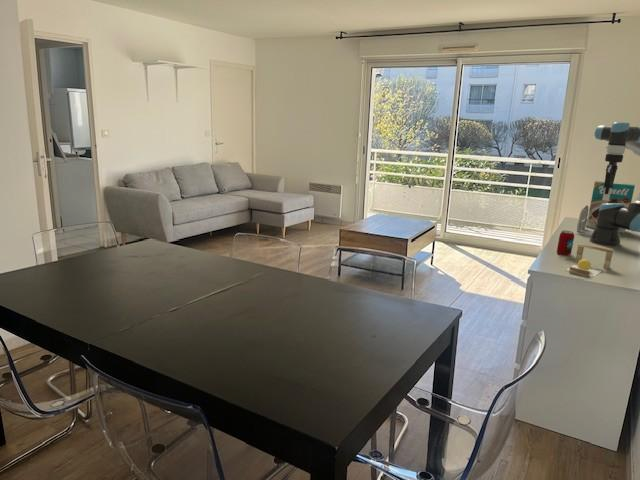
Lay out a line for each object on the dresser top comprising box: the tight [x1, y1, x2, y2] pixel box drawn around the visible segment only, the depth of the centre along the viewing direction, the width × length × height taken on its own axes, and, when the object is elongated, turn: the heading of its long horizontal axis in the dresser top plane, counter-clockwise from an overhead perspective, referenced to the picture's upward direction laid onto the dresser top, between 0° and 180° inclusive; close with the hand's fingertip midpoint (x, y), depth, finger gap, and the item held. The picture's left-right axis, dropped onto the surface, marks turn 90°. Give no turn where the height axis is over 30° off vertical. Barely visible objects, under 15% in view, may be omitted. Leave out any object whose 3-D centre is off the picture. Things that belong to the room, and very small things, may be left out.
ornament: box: [574, 204, 595, 237], centre depth 299 cm, size 22×13×17 cm, turn 137°
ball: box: [576, 258, 592, 270], centre depth 224 cm, size 6×6×6 cm
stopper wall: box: [568, 266, 590, 278], centre depth 218 cm, size 2×8×2 cm, turn 48°
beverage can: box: [556, 230, 575, 257], centre depth 249 cm, size 7×7×12 cm
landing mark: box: [565, 264, 602, 278], centre depth 224 cm, size 12×12×1 cm
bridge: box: [574, 242, 614, 270], centre depth 233 cm, size 3×14×9 cm, turn 48°
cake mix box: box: [585, 180, 636, 234], centre depth 311 cm, size 22×6×30 cm, turn 58°
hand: (605, 200), depth 249 cm, fingers closed
